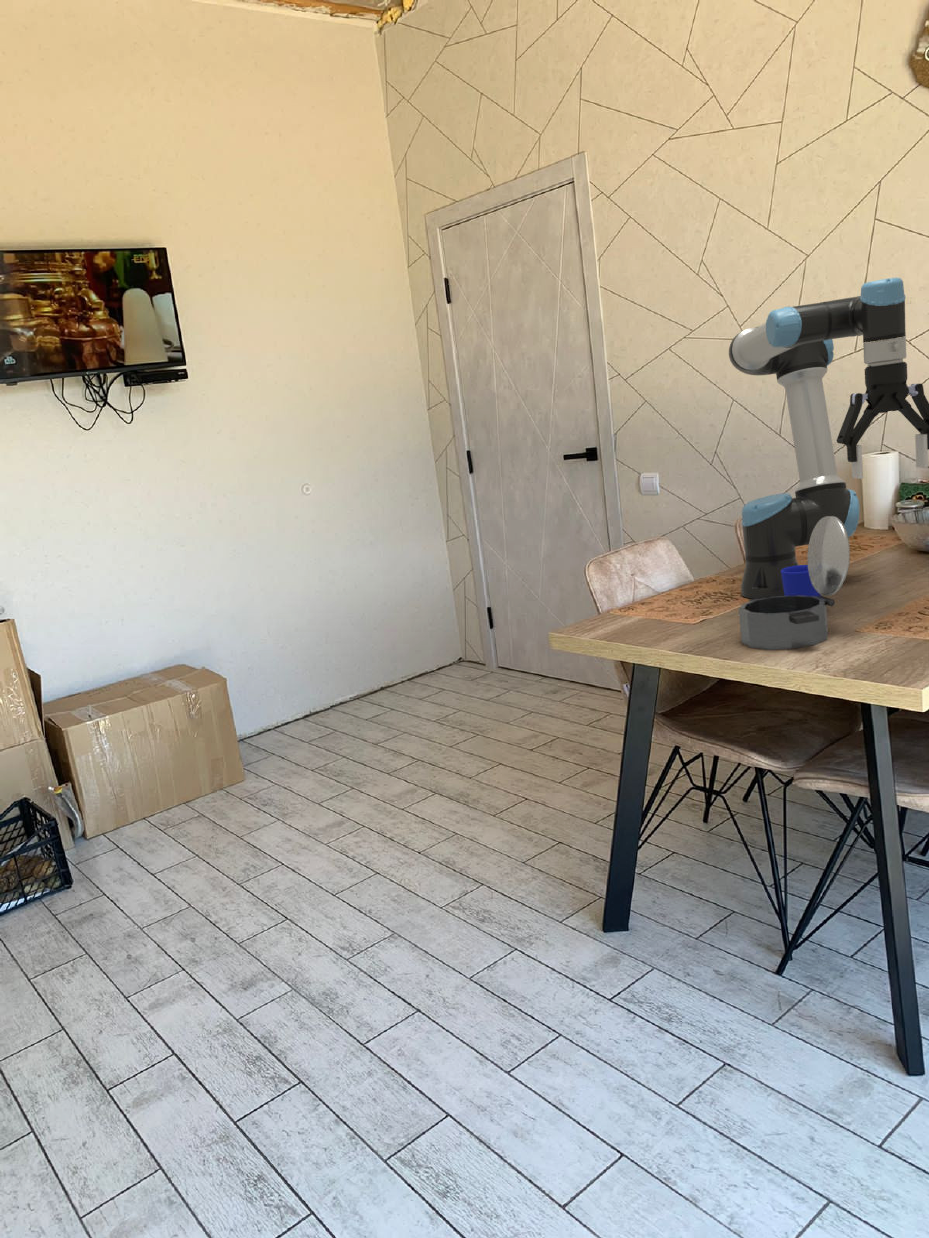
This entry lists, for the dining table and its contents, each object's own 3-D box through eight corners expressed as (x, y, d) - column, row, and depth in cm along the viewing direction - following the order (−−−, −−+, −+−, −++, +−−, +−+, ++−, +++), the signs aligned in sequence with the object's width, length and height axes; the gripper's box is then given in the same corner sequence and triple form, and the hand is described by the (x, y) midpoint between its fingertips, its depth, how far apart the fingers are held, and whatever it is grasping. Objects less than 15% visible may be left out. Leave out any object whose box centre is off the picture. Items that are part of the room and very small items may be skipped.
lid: (811, 513, 191) (818, 513, 191) (804, 588, 193) (811, 588, 194) (849, 519, 175) (857, 519, 176) (841, 601, 178) (849, 601, 178)
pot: (725, 634, 197) (722, 601, 196) (805, 620, 198) (803, 588, 197) (769, 657, 175) (766, 621, 174) (859, 642, 177) (856, 606, 175)
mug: (823, 603, 210) (820, 560, 208) (824, 616, 199) (821, 570, 197) (784, 606, 213) (781, 563, 211) (784, 619, 202) (780, 573, 200)
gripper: (834, 372, 176) (840, 484, 181) (958, 352, 178) (960, 463, 183) (814, 373, 183) (821, 481, 188) (934, 354, 185) (937, 461, 190)
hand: (890, 472), depth 186 cm, fingers open, 13 cm apart
